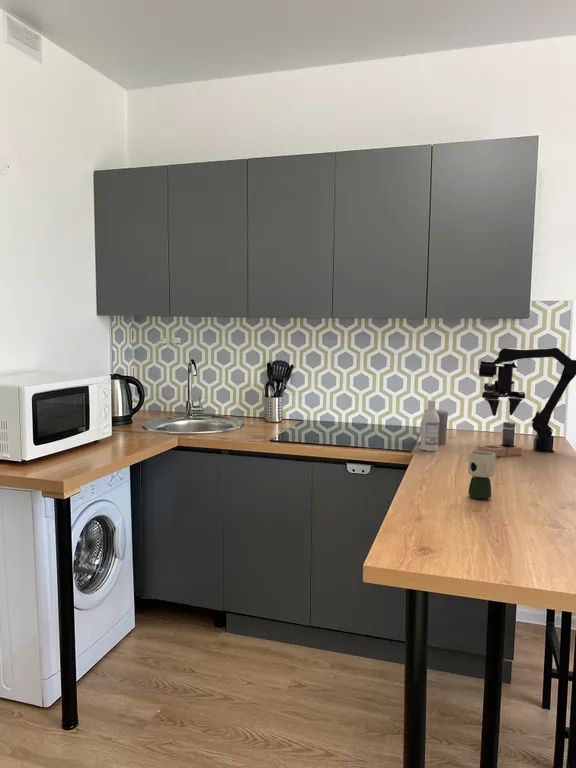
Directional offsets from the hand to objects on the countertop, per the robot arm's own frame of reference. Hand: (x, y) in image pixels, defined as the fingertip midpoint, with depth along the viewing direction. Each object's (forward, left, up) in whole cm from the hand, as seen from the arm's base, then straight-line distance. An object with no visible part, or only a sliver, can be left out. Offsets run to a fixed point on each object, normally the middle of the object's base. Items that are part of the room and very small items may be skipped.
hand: (502, 415), depth 249 cm
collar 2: (+3, +15, -13) cm, 20 cm away
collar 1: (+10, +19, -13) cm, 25 cm away
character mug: (+34, +81, -13) cm, 89 cm away
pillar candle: (+27, -3, -13) cm, 30 cm away
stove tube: (+3, +15, -13) cm, 20 cm away
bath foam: (+33, +13, -13) cm, 38 cm away
